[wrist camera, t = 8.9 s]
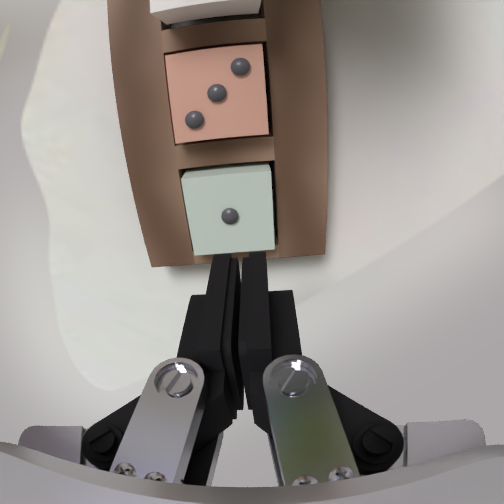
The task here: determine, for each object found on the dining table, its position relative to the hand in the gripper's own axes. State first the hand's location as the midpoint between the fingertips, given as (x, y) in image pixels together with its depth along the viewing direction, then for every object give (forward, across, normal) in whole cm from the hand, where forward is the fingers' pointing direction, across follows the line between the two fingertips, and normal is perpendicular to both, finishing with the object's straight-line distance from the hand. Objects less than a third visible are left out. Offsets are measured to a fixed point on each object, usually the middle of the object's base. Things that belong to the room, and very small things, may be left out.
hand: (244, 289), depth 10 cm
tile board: (+10, +1, -6) cm, 12 cm away
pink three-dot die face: (+10, +1, -6) cm, 12 cm away
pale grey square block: (+10, +1, +1) cm, 10 cm away
